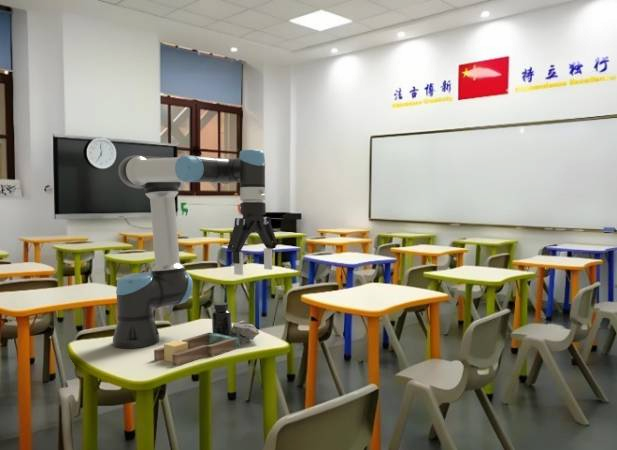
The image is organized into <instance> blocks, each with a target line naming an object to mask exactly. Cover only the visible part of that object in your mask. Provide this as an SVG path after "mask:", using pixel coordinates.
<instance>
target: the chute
mask: <svg viewBox="0 0 617 450" xmlns="http://www.w3.org/2000/svg"><path fill="white" fill-rule="evenodd" d="M181 341H182V342H187V343H188V350H185V351H182V352H179V353H175V354H172V358H173V362H172V365H173V366H176V367H178V366H181V365H183V364H186V363H190V362H193V361H196V360H199V359H201V358H205V357H207V356H209V357H214V356H217V355H221V354H224V353H226V352H230V351H232V350H235V349H238V348H240V342H239V338H236V337H231V336H225V335H220V334H215V333H213V332H205V333H203V334H200V335H195V336H192V337H188V338H184V339H181ZM208 344H209V345H208ZM153 354H154V355H153V356H154V361H157V362H160V361H163V360H164V346H163V347H159V348H156V349H154V350H153Z"/></svg>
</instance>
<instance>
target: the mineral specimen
mask: <svg viewBox="0 0 617 450" xmlns="http://www.w3.org/2000/svg"><path fill="white" fill-rule="evenodd" d="M231 329H232V330H231V333H230V335H231V337H236V338H239V343H247V342H249V341H253V340H254V339H255V338H256V336H258V335H259V334H260V332H259V329H258V328H256V326H255V325H254V324H252V323H248V321H246V320H240V321H239V322H236V323H233V324H232V328H231Z"/></svg>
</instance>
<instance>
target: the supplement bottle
mask: <svg viewBox="0 0 617 450" xmlns="http://www.w3.org/2000/svg"><path fill="white" fill-rule="evenodd" d="M213 309H214V311H213V312H212V313H211V325H212V326H211V329H212V330H211V331H212V333H215V334H220V335H225V336H231V335H230V333H231V330H232V329H231V328H232V327H233V323H232V322H233V319H232V312H231V311H230V310H229V303H228V302H216V303H214V308H213Z"/></svg>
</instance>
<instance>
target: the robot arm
mask: <svg viewBox="0 0 617 450" xmlns="http://www.w3.org/2000/svg"><path fill="white" fill-rule="evenodd" d="M118 176H119V178H120V180H121V181H122V183H124V185H127V186H128V187H131V188H135V189H144V194H145V196H146V197H147V198H148V199H149V201H150V203H149V204H150V214H151V215H150V216H151V227H152V228H151V229H152V239H153V253H154V264H155V265H154V266H153V268H152V269H151V272H147V271H143V272H136V273H134V272H133V273H129V274H126V275H123V276H122V277H120V278H119V279H117V281H116V291H115V293H116V307H117V308H116V310H117V311H116V313H117V323H116V326H115V329H114V333H113V336H112V346H113V347H114V348H119V349H138V348H139V349H140V348H144V347H149V346H153V345H156V344H157V343H159V341H160V333H159V330H158V327H157V325H156V321H155V320H154V310H157V309H161V308H166V307H171V306H178V305H181V304H184V303H186V302H187V301H188V300H189V299H190V297H191V295H192V294H193V293H192V292H193V287H194V286H193V285H194V283H193V279H192V277H191V275H190V274H189V272H188V271H185V270H186V269H185V268H186V267H185V266H184V265H182V264H181V261H180V251H179V250H180V249H179V248H180V247H179V239H178V236H179V235H178V225H177V224H178V223H177V222H178V221H177V214H176V212H177V211H176V200H175V198H176V197H177V195H178V194H179V189H180V188H181V187H182V186H183V183H215V184H216V183H218V184H222V185H223V184H226V185H228V184H229V185H230V184H234V183H239V195H240V196H239V200H240V201H241V202H240V215H242V217H238V218H237V217H236V218H234V223H233V224H234V226H233V228H232V233H231V235H230V238H229V241H228V245H227V248H226V250H227V251H229V252H230V253H232V262H233V266H234V270H233V271H234V272H233V273H234V275H239V276H243V275H244V265H243V264H244V260H243V259H244V258H243V257H244V256H243V252H242V249H243V247H244V245H245V243H246V242H247V240H248V238H249V236H250V235H251V234H253V233H256V234H257V235H258V236H259V238H260V240H261V241H262V243H263V245H264V248H263V266H264V267H263V270H268V271H269V270H273V258H274V254H273V253H274V251H273V249H276V248H277V246H278V242H277V238H276V235H275V232H274V229H273V226H272V221H271V219H272V218H271V217H270V216H264V215H266V214H267V212H266V211H267V210H266V208H267V207H266V203H265V202H264V201H266V158H265V152H264V150H261V149H243V150H240V152H239V155H238V157H235V158H222V157H212V156H211V157H208V156H199V155H198V156H196V155H192V154H191V155H181V156H179V157H178V156H177V157H167V156H154V155H153V156H152V155H150V156H149V155H140V154H137V155H135V154H134V155H129V156H127V157H125V158H124V159H122V161H121V162H120V164H119V166H118Z"/></svg>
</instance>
